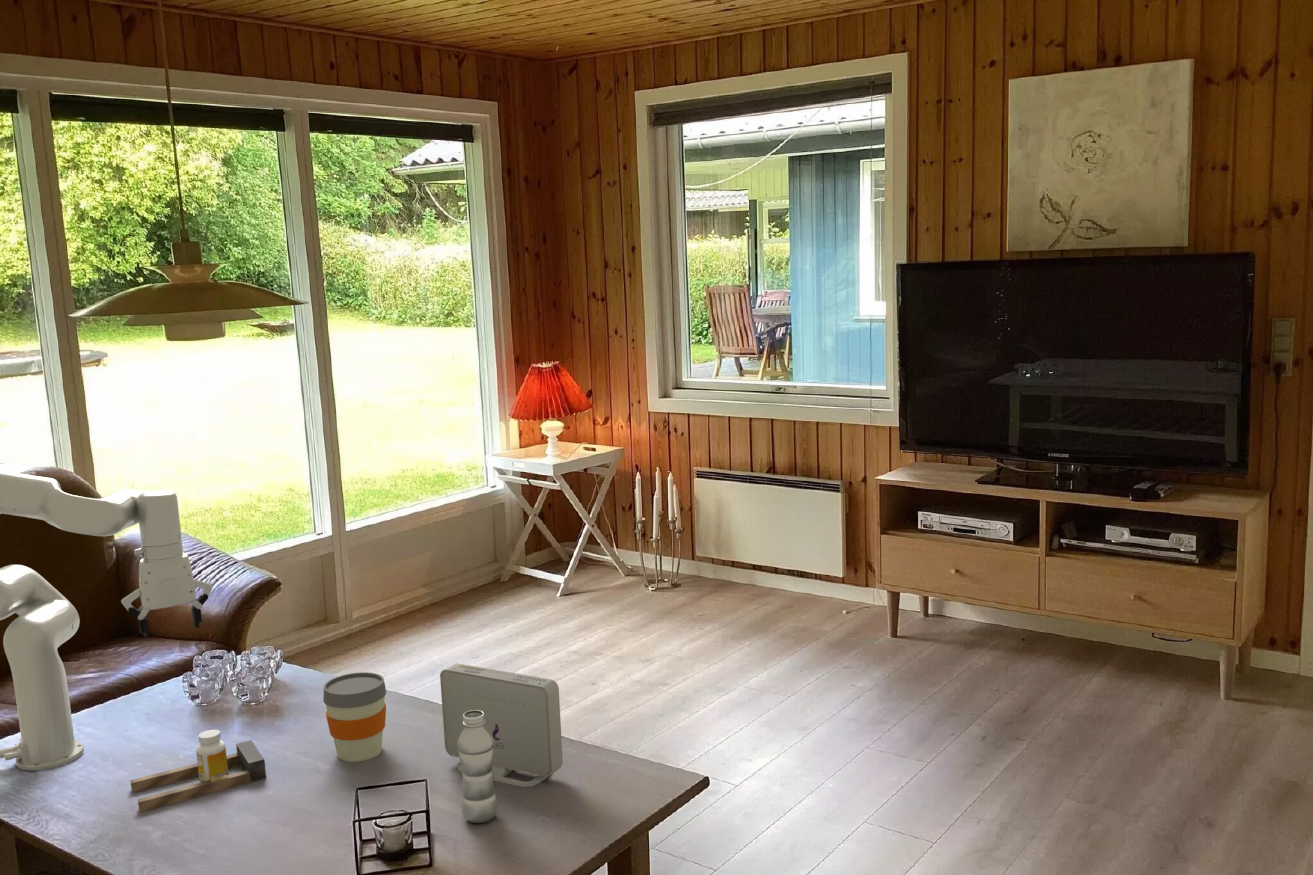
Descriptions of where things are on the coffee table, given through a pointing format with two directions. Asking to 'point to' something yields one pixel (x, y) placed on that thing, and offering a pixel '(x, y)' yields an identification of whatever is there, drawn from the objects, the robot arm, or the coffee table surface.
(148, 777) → the guide channel
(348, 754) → the reusable coffee cup
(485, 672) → the network device
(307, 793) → the coffee table surface
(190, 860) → the coffee table surface
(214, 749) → the supplement bottle
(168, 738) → the coffee table surface
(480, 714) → the plastic bottle
